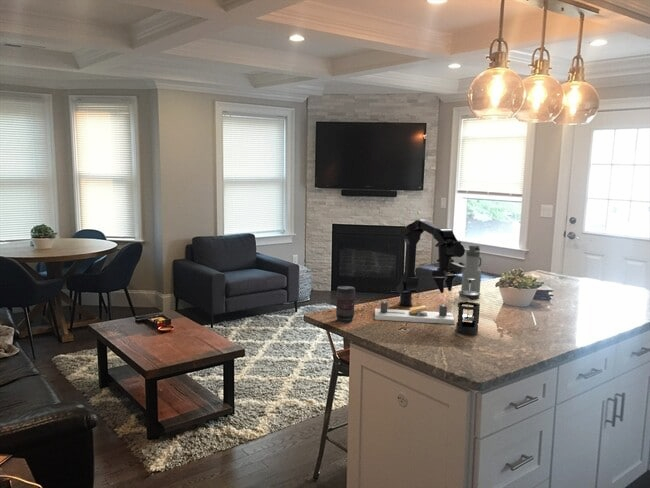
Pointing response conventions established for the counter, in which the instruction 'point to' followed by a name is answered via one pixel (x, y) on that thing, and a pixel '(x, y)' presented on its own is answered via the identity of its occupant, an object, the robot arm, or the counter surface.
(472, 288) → the water bottle
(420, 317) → the panel
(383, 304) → the slider
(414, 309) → the tan block
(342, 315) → the camera lens
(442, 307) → the slider
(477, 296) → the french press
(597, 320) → the counter surface
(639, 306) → the counter surface
